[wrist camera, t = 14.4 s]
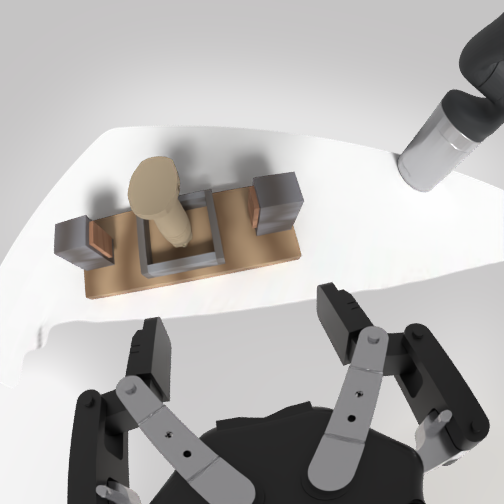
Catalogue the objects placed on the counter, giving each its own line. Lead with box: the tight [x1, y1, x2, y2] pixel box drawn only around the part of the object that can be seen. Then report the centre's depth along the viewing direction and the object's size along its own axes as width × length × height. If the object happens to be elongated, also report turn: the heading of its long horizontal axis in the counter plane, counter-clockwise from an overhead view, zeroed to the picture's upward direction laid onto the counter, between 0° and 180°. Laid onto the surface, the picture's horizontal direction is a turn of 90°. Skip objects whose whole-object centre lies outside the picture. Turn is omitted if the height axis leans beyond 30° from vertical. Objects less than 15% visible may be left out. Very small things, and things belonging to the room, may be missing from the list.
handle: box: [128, 156, 193, 248], centre depth 32 cm, size 5×6×15 cm
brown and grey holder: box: [54, 172, 304, 299], centre depth 36 cm, size 32×12×11 cm, turn 102°
